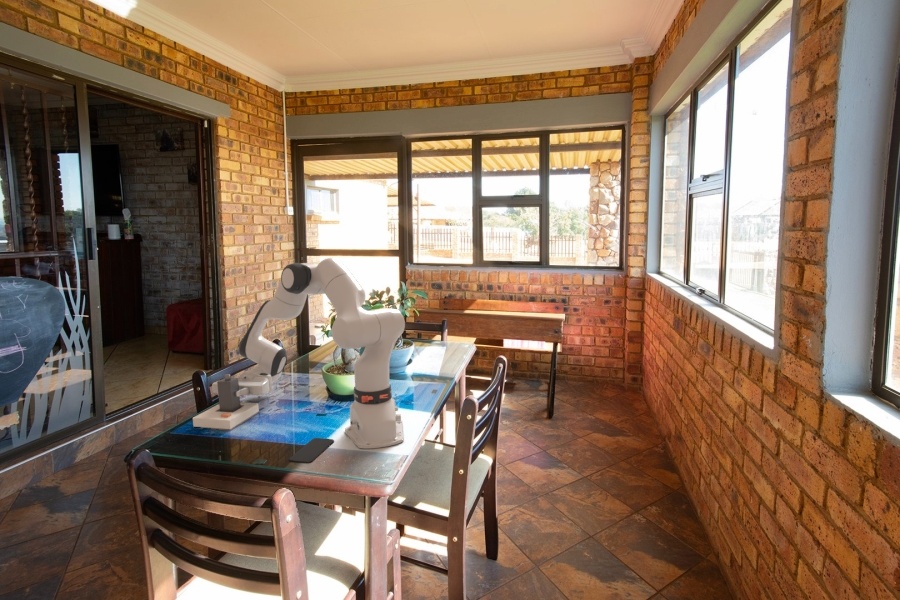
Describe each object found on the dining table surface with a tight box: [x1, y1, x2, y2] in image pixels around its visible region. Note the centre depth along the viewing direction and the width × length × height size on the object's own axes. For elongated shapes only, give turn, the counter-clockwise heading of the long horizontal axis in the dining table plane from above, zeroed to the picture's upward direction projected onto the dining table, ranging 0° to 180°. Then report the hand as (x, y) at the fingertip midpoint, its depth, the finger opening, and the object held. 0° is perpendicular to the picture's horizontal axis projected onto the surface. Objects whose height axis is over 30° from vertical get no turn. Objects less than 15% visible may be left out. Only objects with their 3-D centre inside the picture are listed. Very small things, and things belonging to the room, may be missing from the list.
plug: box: [217, 373, 241, 413], centre depth 174 cm, size 4×5×14 cm
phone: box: [288, 437, 335, 464], centre depth 148 cm, size 7×1×15 cm
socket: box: [192, 401, 260, 432], centre depth 173 cm, size 16×14×4 cm
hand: (227, 394), depth 173 cm, fingers open, 5 cm apart
